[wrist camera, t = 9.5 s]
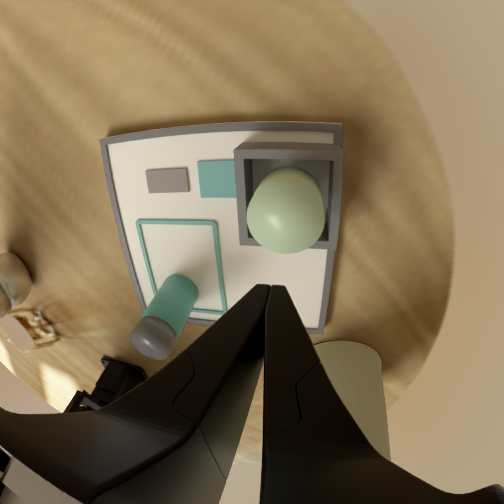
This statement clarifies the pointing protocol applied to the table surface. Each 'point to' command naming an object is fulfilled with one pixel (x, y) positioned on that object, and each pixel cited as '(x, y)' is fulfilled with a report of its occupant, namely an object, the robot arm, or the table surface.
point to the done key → (286, 210)
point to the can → (359, 387)
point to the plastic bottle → (13, 282)
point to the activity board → (221, 210)
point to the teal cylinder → (165, 317)
